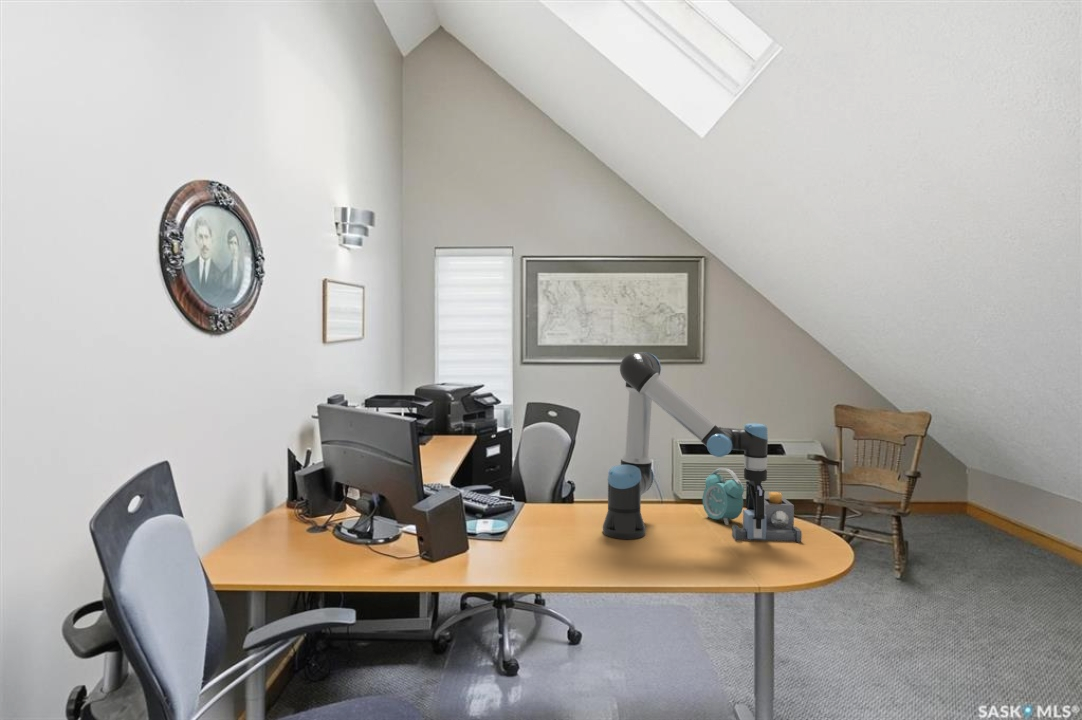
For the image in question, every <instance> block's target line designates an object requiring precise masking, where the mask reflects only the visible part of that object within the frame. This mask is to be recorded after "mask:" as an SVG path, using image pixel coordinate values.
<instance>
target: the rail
mask: <svg viewBox="0 0 1082 720" xmlns="http://www.w3.org/2000/svg"><path fill="white" fill-rule="evenodd" d="M731 527H732V529H731V531H732V532H731V537H732V538H733V540H734V541H735V542H741V541H757V542H758V541H761V542H762V541H763V542H766V541H767V542H769V541H770V542H796V543H800V544H801V543H802V530H801V529H800V528H799V527H797V526H794V527H792V530H766V539H748V538H747V531H746V529H743V528H740V527H739V526H738V525H737V524H732V526H731Z"/></svg>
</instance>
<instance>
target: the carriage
mask: <svg viewBox="0 0 1082 720" xmlns="http://www.w3.org/2000/svg"><path fill="white" fill-rule="evenodd" d="M752 517H755V516H754V510H747V509H742V529H746V531H747V538H748V539H766V518H767V516H766V515H765V514H764V517H765V519H762V538H754V537H753V518H752Z"/></svg>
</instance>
